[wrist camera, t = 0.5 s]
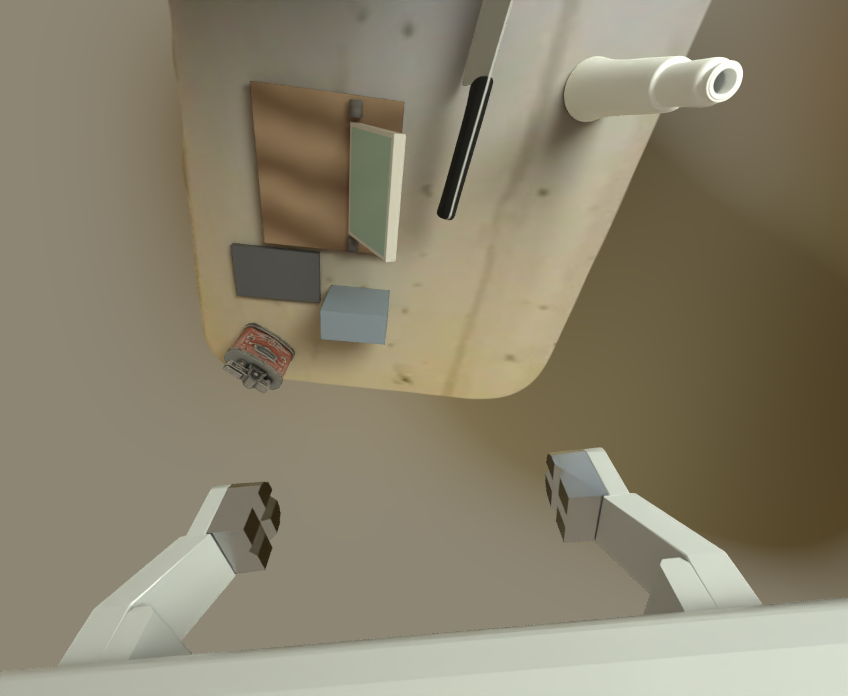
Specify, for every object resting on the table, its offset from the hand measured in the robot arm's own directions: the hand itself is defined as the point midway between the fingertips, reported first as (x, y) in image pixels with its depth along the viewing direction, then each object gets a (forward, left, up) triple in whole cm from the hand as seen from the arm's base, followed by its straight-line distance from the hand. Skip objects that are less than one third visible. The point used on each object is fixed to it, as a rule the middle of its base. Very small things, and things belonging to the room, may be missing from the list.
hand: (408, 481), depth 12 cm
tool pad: (+12, -17, -44) cm, 48 cm away
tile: (-1, -7, -42) cm, 42 cm away
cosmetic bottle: (-13, +19, -44) cm, 49 cm away
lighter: (+23, -19, -44) cm, 53 cm away
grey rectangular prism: (+15, -6, -44) cm, 47 cm away
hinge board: (-1, -10, -44) cm, 45 cm away
